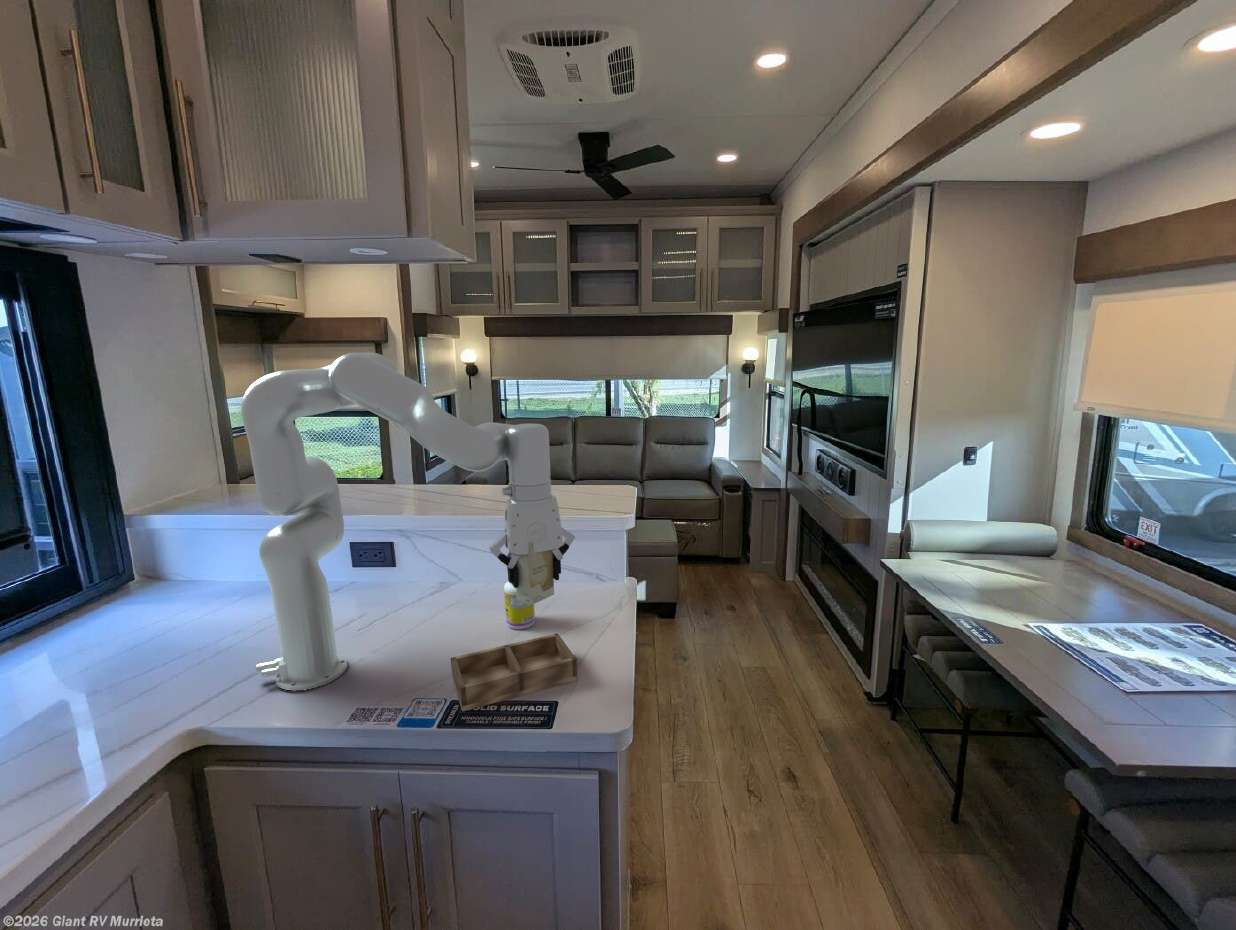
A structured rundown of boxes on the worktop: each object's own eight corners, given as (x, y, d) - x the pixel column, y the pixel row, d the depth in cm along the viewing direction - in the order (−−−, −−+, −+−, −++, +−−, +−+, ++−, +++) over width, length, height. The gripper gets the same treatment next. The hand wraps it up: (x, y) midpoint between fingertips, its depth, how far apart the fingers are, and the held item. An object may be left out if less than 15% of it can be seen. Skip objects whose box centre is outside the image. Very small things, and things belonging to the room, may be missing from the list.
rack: (462, 711, 100) (460, 688, 99) (452, 678, 110) (450, 657, 110) (577, 680, 109) (576, 659, 108) (558, 652, 119) (557, 633, 118)
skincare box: (532, 606, 105) (528, 543, 102) (515, 600, 107) (512, 538, 105) (555, 594, 110) (553, 533, 107) (539, 588, 112) (537, 529, 110)
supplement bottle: (509, 617, 136) (506, 566, 133) (537, 616, 135) (534, 566, 133) (503, 630, 129) (499, 577, 127) (532, 630, 129) (529, 577, 126)
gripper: (487, 501, 98) (493, 597, 101) (582, 490, 105) (584, 580, 108) (479, 492, 104) (485, 582, 108) (568, 481, 111) (571, 567, 115)
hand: (535, 580), depth 108 cm, fingers closed on skincare box, 7 cm apart
